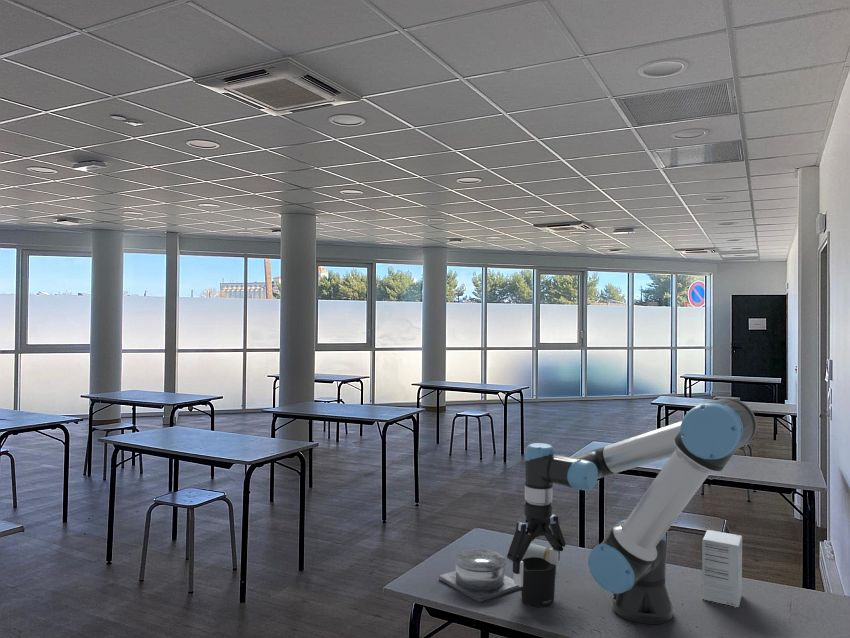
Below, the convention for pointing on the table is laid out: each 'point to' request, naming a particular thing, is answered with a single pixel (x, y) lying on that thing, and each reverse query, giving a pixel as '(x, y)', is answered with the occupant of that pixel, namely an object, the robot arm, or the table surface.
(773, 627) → the table surface
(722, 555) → the supplement box
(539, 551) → the ceramic mug
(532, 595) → the pen holder
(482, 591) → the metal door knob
